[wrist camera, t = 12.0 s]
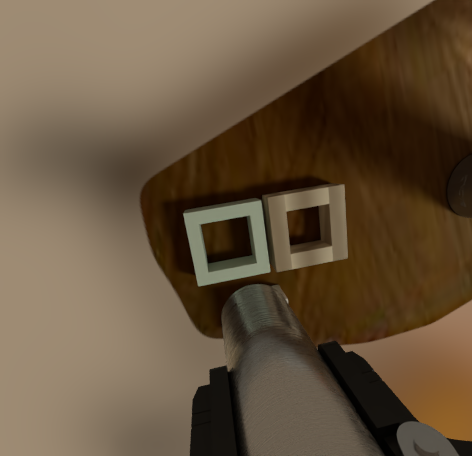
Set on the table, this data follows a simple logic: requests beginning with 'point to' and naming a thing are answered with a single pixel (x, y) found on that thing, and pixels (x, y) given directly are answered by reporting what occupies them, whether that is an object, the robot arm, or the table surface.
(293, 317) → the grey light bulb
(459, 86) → the table surface
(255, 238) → the frame
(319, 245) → the socket block
